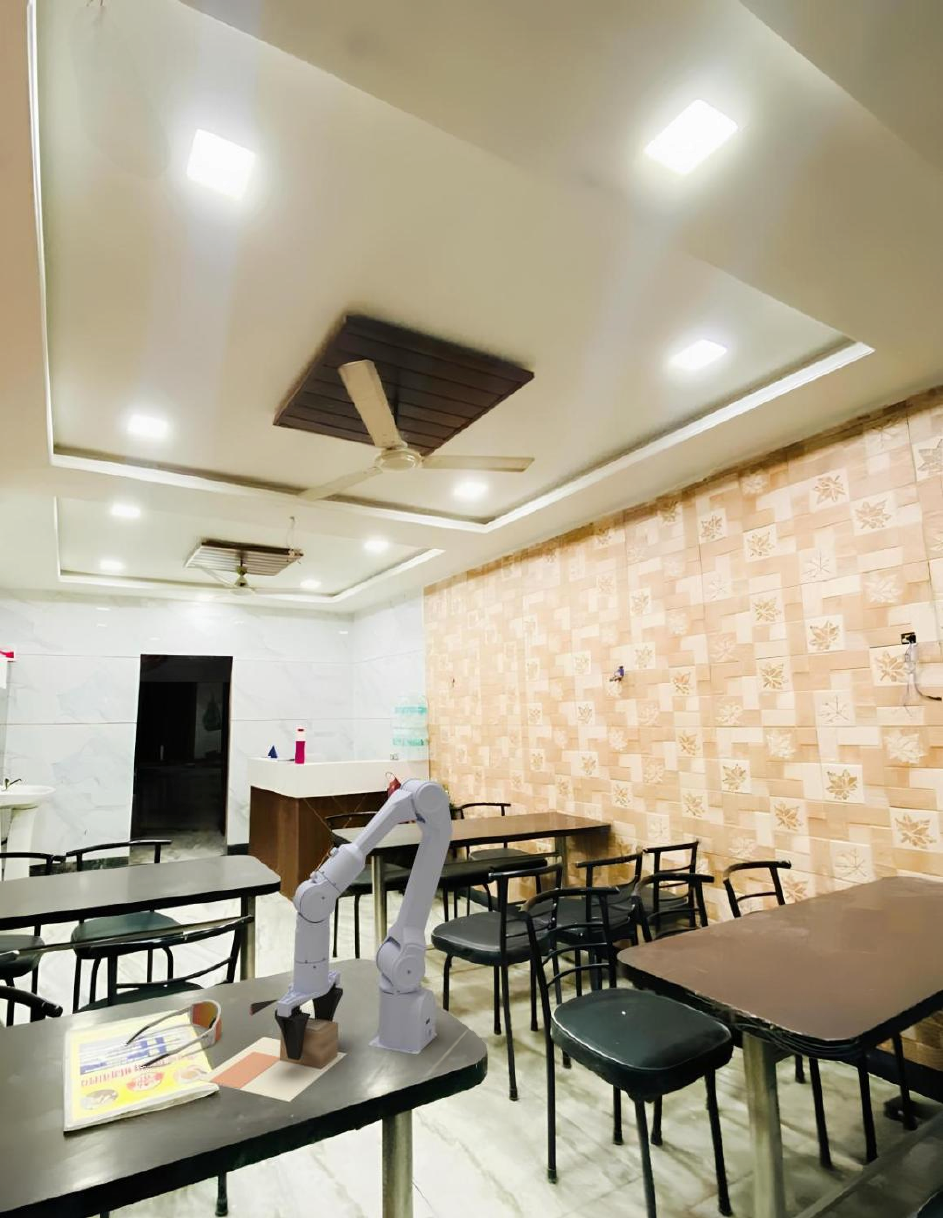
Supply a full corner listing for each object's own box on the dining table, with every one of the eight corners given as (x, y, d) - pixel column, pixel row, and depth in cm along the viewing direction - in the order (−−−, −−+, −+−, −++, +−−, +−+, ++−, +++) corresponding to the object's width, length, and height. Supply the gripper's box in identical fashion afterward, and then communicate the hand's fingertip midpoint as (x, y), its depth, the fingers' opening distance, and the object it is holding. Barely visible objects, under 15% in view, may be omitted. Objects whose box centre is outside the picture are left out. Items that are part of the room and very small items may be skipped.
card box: (337, 1056, 106) (338, 1022, 107) (321, 1069, 102) (322, 1033, 103) (297, 1047, 109) (298, 1014, 110) (279, 1060, 105) (281, 1025, 106)
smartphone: (288, 997, 131) (297, 1028, 117) (288, 1002, 130) (297, 1033, 117) (250, 1003, 128) (254, 1035, 114) (249, 1008, 128) (254, 1041, 114)
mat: (346, 1057, 107) (346, 1053, 107) (289, 1106, 93) (289, 1100, 94) (263, 1040, 113) (263, 1036, 113) (198, 1083, 100) (198, 1078, 100)
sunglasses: (235, 1045, 112) (232, 1015, 113) (139, 1090, 102) (137, 1056, 103) (209, 1018, 123) (206, 990, 123) (120, 1056, 113) (118, 1026, 114)
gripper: (317, 941, 117) (314, 1025, 114) (263, 969, 103) (259, 1063, 101) (351, 946, 114) (348, 1031, 112) (300, 974, 101) (296, 1072, 98)
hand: (308, 1047), depth 106 cm, fingers open, 7 cm apart
